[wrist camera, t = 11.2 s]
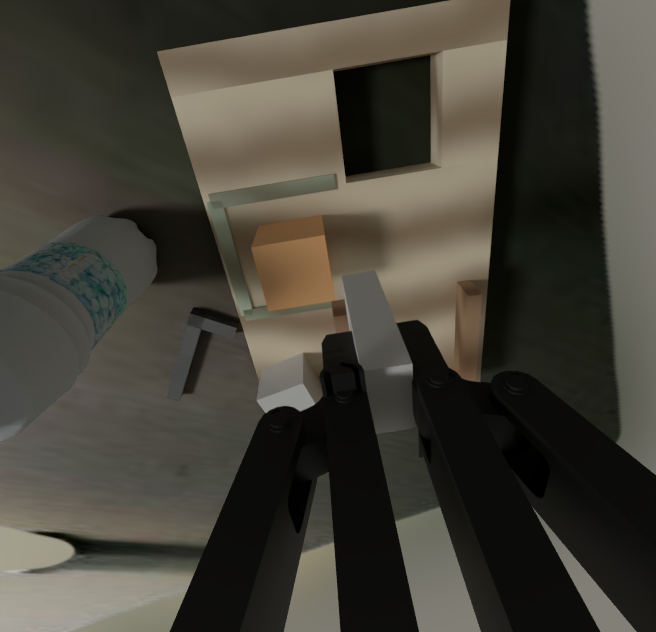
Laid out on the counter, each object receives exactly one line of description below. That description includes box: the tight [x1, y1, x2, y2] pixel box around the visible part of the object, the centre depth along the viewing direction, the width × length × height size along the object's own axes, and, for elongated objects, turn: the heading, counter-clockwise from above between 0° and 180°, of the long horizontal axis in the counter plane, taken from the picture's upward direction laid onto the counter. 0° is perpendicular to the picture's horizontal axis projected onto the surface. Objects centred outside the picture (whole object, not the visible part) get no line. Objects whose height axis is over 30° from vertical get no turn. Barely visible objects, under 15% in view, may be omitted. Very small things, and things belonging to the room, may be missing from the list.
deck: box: [157, 0, 510, 395], centre depth 29 cm, size 28×20×3 cm
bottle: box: [0, 215, 158, 441], centre depth 21 cm, size 7×7×20 cm
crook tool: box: [167, 307, 239, 401], centre depth 35 cm, size 10×4×1 cm, turn 157°
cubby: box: [331, 280, 482, 382], centre depth 31 cm, size 11×11×2 cm
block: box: [257, 353, 323, 413], centre depth 32 cm, size 4×4×4 cm
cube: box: [251, 215, 335, 311], centre depth 26 cm, size 4×4×4 cm
